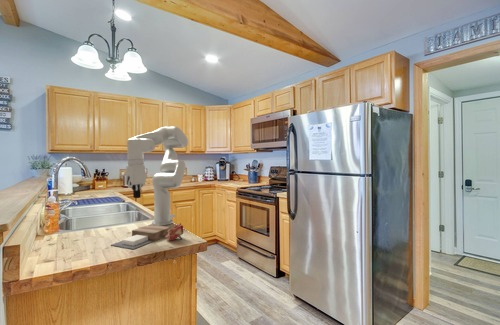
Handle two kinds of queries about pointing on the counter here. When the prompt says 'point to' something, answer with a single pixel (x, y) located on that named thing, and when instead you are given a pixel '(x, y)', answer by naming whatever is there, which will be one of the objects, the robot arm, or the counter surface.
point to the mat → (130, 245)
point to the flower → (175, 232)
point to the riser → (152, 232)
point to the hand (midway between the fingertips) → (137, 197)
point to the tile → (135, 240)
